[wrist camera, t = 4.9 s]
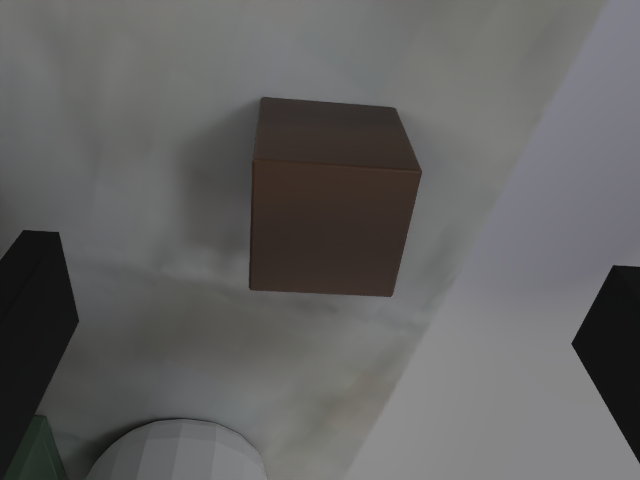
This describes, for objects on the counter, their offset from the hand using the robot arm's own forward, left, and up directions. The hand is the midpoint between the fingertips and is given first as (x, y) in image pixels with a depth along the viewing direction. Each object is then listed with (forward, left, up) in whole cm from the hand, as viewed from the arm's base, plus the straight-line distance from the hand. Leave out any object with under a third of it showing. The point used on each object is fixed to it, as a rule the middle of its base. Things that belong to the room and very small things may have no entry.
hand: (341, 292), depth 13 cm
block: (0, 0, -7) cm, 7 cm away
